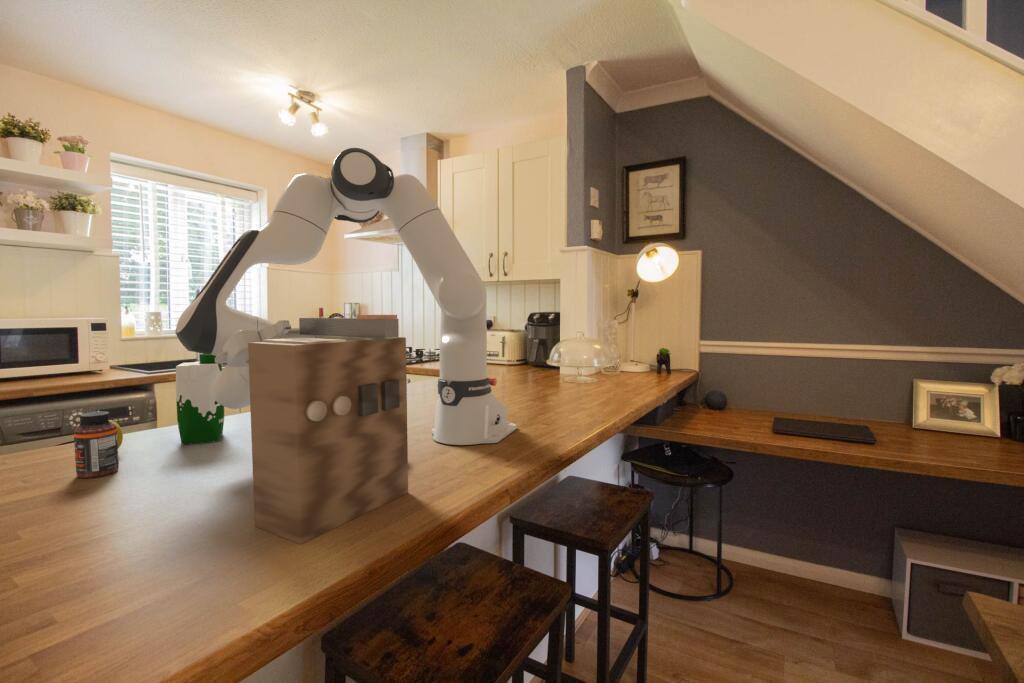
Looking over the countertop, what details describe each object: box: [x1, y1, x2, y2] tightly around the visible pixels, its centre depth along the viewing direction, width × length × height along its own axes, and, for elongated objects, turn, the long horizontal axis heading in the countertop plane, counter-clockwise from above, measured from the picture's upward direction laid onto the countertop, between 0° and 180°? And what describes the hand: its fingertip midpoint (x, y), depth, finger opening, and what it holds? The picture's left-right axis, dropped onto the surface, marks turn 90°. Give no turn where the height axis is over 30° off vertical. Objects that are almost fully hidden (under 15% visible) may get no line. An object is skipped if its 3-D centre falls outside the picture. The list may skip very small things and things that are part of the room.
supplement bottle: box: [73, 410, 120, 479], centre depth 87 cm, size 6×6×11 cm
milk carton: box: [175, 353, 225, 445], centre depth 109 cm, size 9×9×20 cm
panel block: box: [248, 336, 409, 545], centre depth 71 cm, size 20×11×26 cm, turn 150°
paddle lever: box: [298, 314, 400, 338], centre depth 76 cm, size 4×20×3 cm, turn 60°
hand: (311, 323), depth 80 cm, fingers open, 8 cm apart
